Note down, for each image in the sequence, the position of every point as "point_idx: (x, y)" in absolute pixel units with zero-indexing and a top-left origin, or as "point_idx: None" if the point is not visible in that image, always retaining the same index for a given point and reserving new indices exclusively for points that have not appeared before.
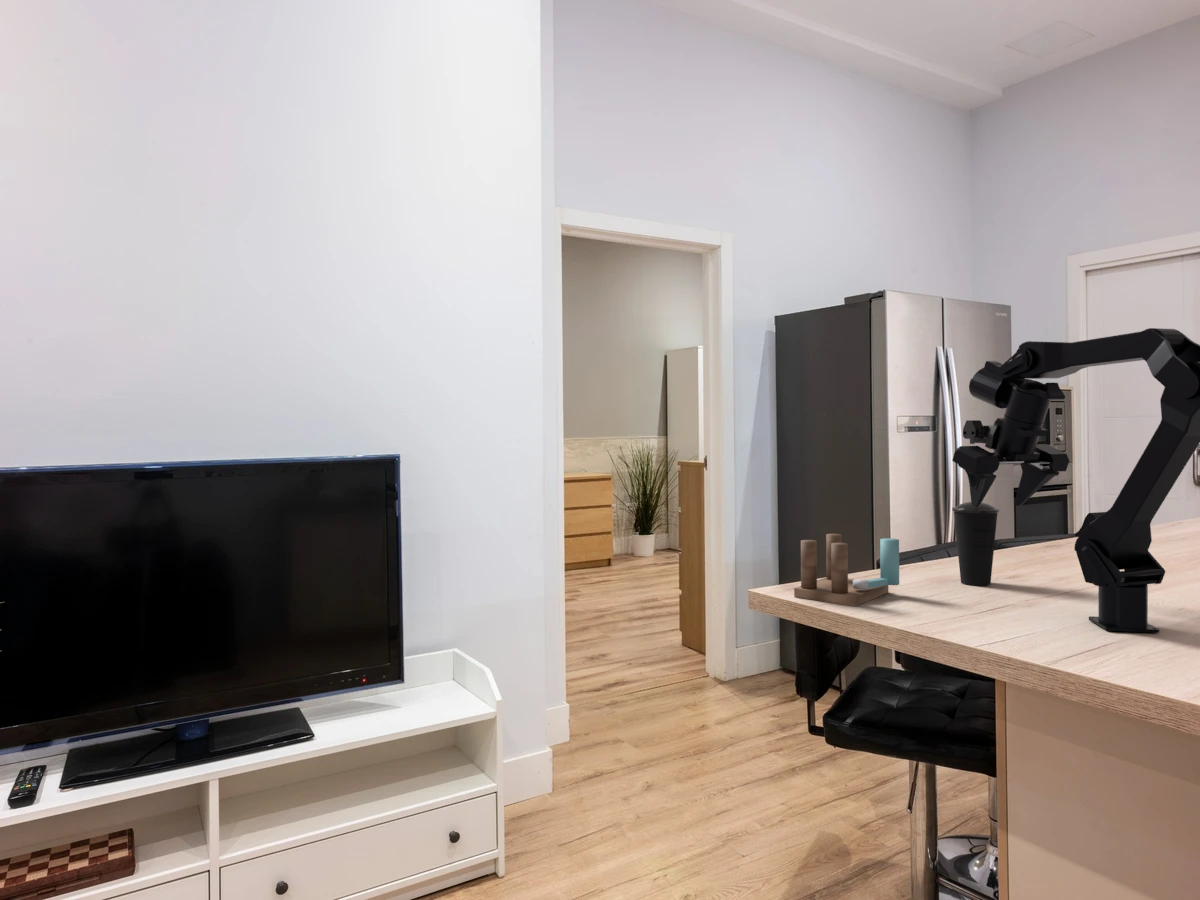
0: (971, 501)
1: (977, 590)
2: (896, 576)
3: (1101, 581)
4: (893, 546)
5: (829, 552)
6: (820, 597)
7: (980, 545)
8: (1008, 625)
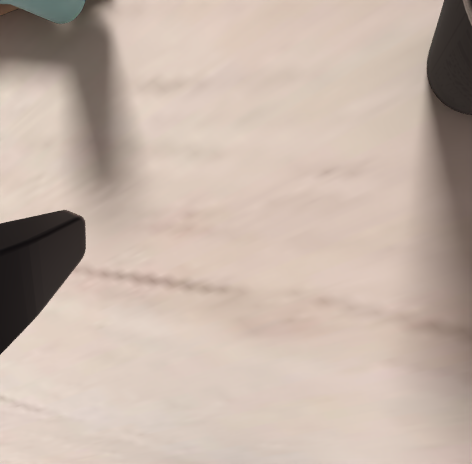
0: (38, 218)
1: (355, 134)
2: (38, 14)
3: None
4: None
5: None
6: None
7: (463, 88)
8: (50, 359)
